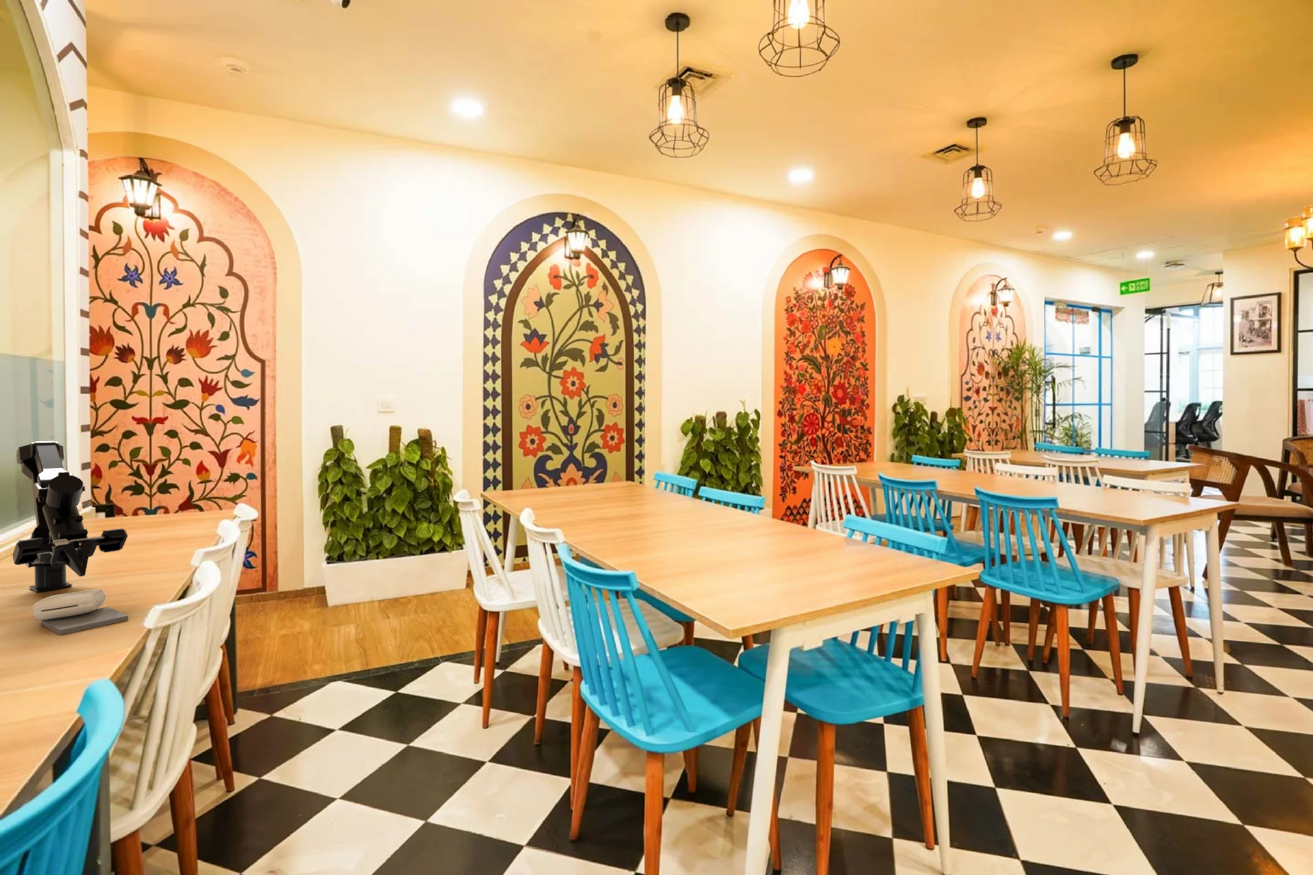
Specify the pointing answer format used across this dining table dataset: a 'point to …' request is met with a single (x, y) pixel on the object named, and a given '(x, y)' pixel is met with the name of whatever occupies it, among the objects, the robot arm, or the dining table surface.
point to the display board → (84, 620)
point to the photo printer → (68, 604)
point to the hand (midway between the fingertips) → (82, 575)
